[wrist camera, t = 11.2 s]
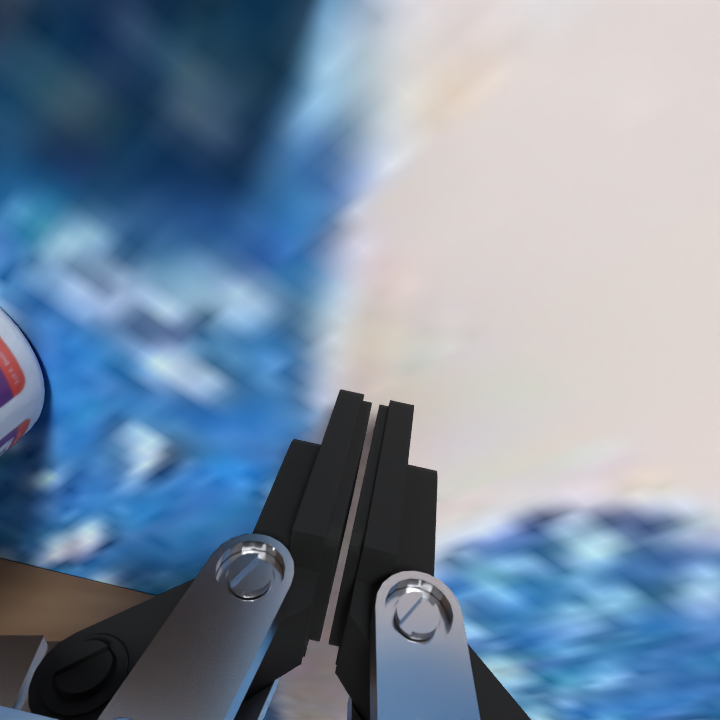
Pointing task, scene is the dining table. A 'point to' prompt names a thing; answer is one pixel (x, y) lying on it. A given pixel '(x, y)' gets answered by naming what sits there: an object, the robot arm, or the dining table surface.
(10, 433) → the pill bottle
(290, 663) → the robot arm
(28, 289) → the dining table surface
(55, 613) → the box
